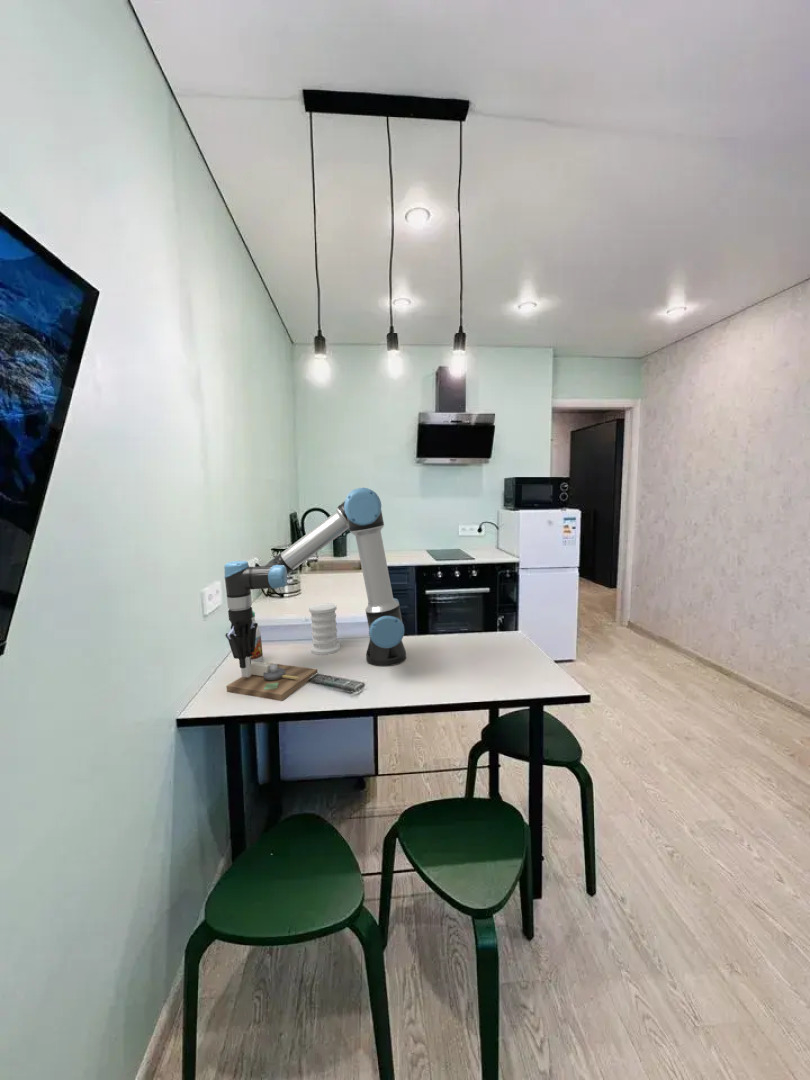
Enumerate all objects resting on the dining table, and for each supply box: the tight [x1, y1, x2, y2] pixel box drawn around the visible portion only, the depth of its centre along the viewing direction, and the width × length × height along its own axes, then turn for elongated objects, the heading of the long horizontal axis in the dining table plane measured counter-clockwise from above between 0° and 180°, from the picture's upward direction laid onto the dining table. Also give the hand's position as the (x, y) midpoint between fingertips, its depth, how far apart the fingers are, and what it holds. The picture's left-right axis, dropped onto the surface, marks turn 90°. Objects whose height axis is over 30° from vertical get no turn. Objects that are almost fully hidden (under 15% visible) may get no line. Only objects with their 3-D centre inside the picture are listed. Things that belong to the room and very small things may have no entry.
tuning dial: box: [250, 661, 299, 680], centre depth 148 cm, size 20×7×4 cm, turn 68°
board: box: [226, 662, 319, 701], centre depth 148 cm, size 22×20×2 cm
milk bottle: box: [250, 611, 264, 663], centre depth 165 cm, size 8×8×20 cm
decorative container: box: [308, 602, 341, 656], centre depth 177 cm, size 12×12×18 cm
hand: (246, 675), depth 147 cm, fingers closed
